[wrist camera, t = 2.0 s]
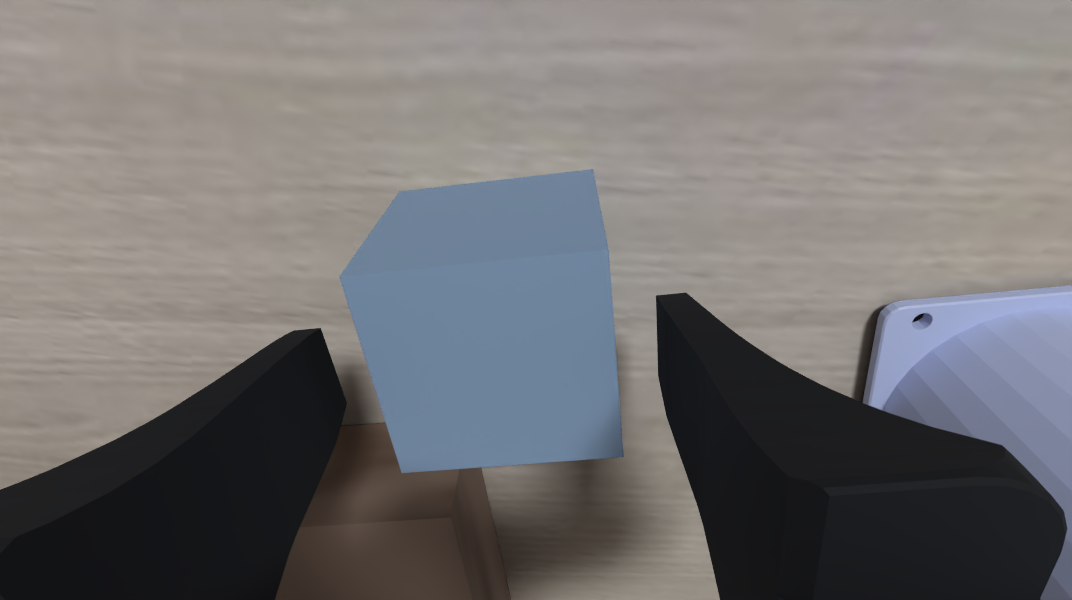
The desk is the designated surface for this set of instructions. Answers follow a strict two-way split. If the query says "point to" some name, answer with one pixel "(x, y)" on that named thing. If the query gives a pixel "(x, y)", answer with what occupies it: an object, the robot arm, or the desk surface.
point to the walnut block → (393, 530)
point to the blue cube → (491, 323)
